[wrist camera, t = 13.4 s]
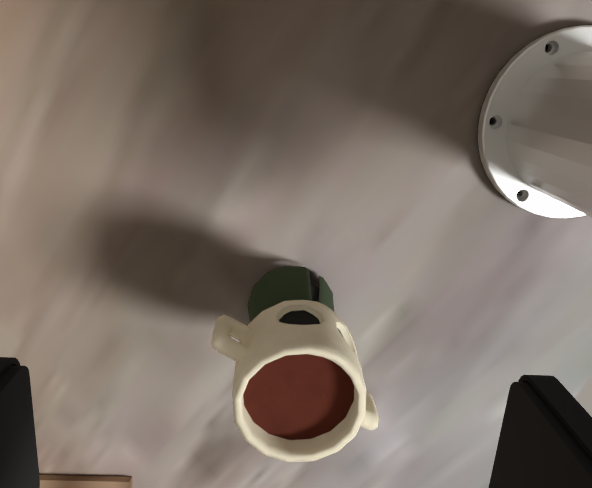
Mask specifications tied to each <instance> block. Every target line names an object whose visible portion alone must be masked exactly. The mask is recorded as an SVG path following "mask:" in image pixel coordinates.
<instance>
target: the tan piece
mask: <svg viewBox="0 0 592 488" xmlns="http://www.w3.org/2000/svg"><path fill="white" fill-rule="evenodd" d="M39 478H40V488H132V477H124V476H76V475H39Z"/></svg>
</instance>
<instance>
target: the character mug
mask: <svg viewBox="0 0 592 488" xmlns="http://www.w3.org/2000/svg"><path fill="white" fill-rule="evenodd" d="M319 284H320V288H319V287H318V286H317V284H316V283H315V282H314V281H313V280H310V274H309V269H307V268H305V267H294V266H285V267H282V268H279V269H276V270H273V271H271V272H268V273H267V274H266V275H265V276H264V277H263V278H262V279H261V280H260V281H259V282H258V283H257V284H256V285H255V286H254V288H253V291H252V294H251V297H250V299H249V302H248V310H249V317H250V323H249V324H248V325H247V326H246V325H244V324H243V323H241V322H239V321H237V320H235V319H233V318H231V317H229V316H226V315H222V316H220V317H219V318H217V319H216V321H215V326H214V330H213V335H212V342H211V343H212V346H213V348H214V349H215V350H217V351H218V352H220V353H222V354H223V355H225V356H227V357H229V358H231V359H233V360H235V361H236V365H235V373H234V382H233V391H232V396H233V410H234V422H235V424H236V425H237V427H238V429H239V431H240V432H241V434H242V436H243V438H244V439H245V441H246V442H247V443H248V444H250V445H251V446H252V447H254V448H255V449H256V450H258V451H259V452H260V453H262V454H263V455H264V456H267V457H271V458H274V459H278V460H282V461H285V462H306V461H315V460H318V459H321V458H323V457H326V456H328V455H331V454H333V453H336V452H338V451H339V450H340V449H341V448H342V447H344V446H345V445H346V444H347V443H348V442H349V441H350V440H352V439H353V438H354V437H355V436H356V434H357V432H358V430H359V428H360V426H362V427H363V428H365V429H368V430H373V429H376V428H377V426H378V421H379V416H378V413H377V410H376V406H375V403H374V400H373V398H372V396H371V394H370V393H369V392H368V391H366V386H365V382H364V379H363V375H362V368H361V365H360V363H359V361H358V359H357V351H356V347H355V344H354V341H353V338H352V336H351V334H350V332H349V330H348V328H347V326H346V324H345V323H344V322H343V321H342V320H341V319H340V318H339V317H338V316H337V315H336V314H335V312H334V305H333V295H332V291H331V290H330V288H329V286H328V285H327V283H326V281H325V280H324V278H322V277H321V276H319ZM229 335H230V336H232V337H234V338H235V339H237V340H239V341H240V342H237V341H235V340H234V339H232V338H230V336H229Z"/></svg>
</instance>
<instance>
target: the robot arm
mask: <svg viewBox="0 0 592 488" xmlns="http://www.w3.org/2000/svg"><path fill="white" fill-rule="evenodd" d="M546 44H547V45H548V51H547V52H545V46H546ZM492 117H493V118H494V122H493V123H492V124H491V125H490V124H489V121H490V119H491V118H492ZM478 146H479V152H480V158H481V162H482V164H483V167H484V170H485V172H486V175H487V176H488V178H489V179H490V181H491V183H492V184H493V186H494V187H495V189H496V190H497V191H498V192H499V193H500V194H501V195H502V196H503V197H504V198H505V199H507V200H508V201H510V202H511V203H513V204H514V205H516V206H517V207H519V208H521V209H523V210H525V211H527V212H529V213H531V214H534V215H538V216H542V217H546V218H557V219H568V218H575V217H582V216H585V215H588V216H590V217H592V25H584V26H574V27H568V28H563V29H560V30H557V31H554V32H551V33H548V34H545V35H543V36H542V37H540V38H538V39H536V40H535V41H533V42H531V43H529V44H528V45H526V46H525V47H524V48H523V49H522V50H520V51H519V52H518V53H517V54H515V55H514V56H513V57H512V58H511V59H510V60H509V62H508V63H507V64H506V65H505V66H504V67H503V68H502V70H501V71H500V72H499V74H498V75H497V77H496V78H495V80H494V82H493V83H492V85H491V87H490V88H489V91H488V93H487V96H486V98H485V101H484V103H483V106H482V110H481V114H480V119H479V124H478ZM518 191H520V194H519V195H518V196H516V195H517V193H518ZM0 488H40V478H39V468H38V457H37V447H36V437H35V427H34V417H33V406H32V396H31V386H30V376H29V370H28V368H27V367H26V366H20V363H19V361H18V359H16V358H7V357H0ZM489 488H592V417H591V416H590V415H589V414H588V413H587V412H586V410H585V409H584V408H583V407H582V406H581V405H580V404H579V403H578V402H577V401H576V399H575V398H574V397H573V396H572V395H571V394H570V393H569V392H568V391H567V389H566V388H565V387H564V386H563V385H562V384H561V383H560V382H559V381H558V379H556V378H555V377H554V376H542V375H523V376H521V378H520V379H519V381H518V382H514V383H512V385H511V387H510V390H509V395H508V399H507V404H506V409H505V414H504V418H503V423H502V428H501V432H500V437H499V442H498V446H497V451H496V456H495V461H494V465H493V470H492V475H491V479H490V484H489Z"/></svg>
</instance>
